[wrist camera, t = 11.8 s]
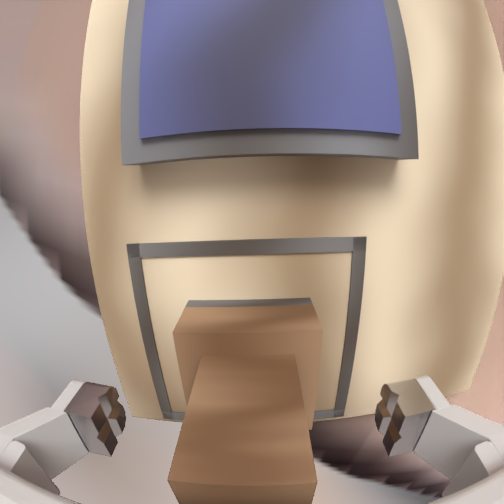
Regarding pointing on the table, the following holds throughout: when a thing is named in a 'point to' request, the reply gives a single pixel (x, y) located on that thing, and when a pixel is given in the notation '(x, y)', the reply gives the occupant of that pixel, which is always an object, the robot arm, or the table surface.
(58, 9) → the table surface
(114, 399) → the robot arm
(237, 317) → the stamp
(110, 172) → the board
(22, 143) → the table surface
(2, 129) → the table surface
